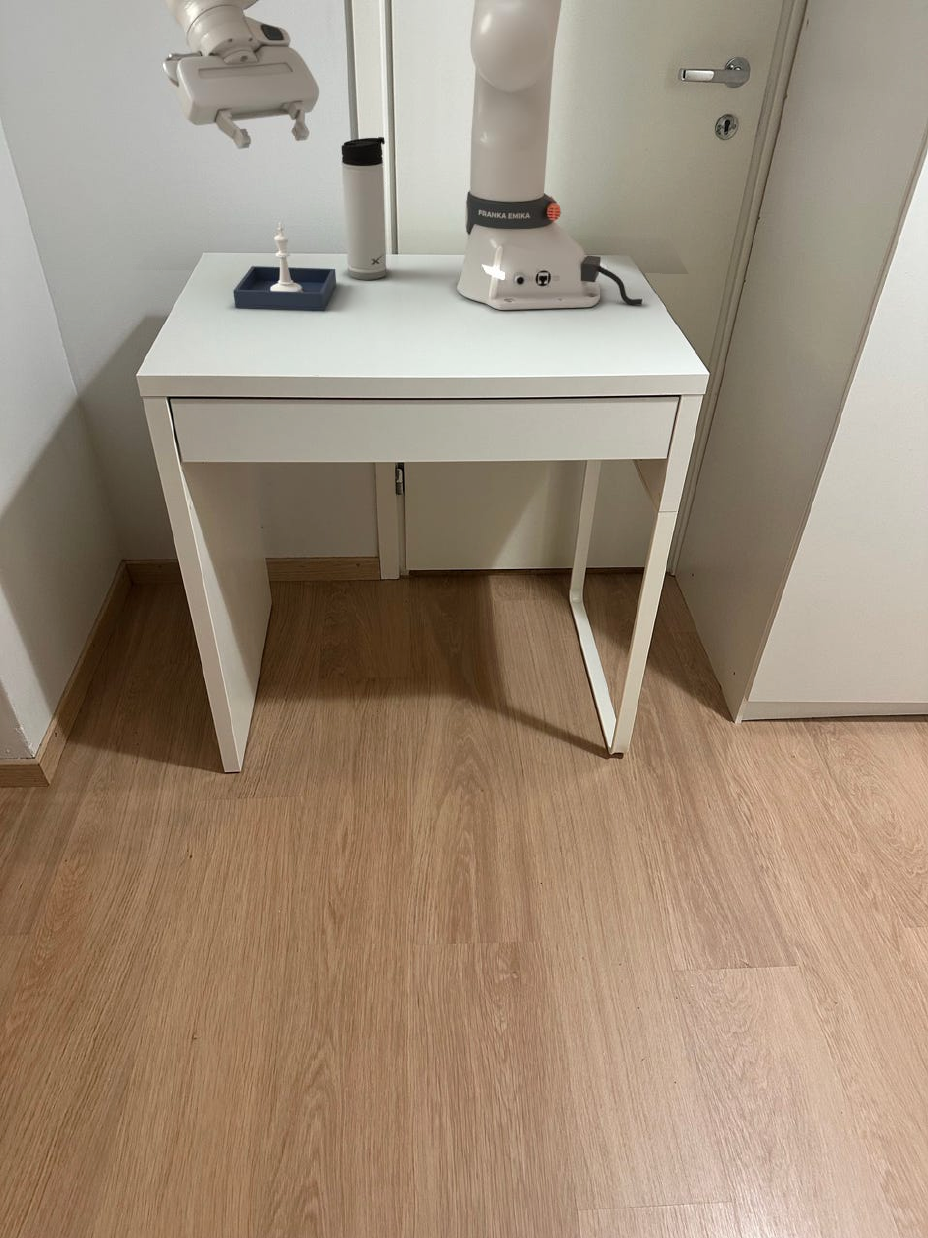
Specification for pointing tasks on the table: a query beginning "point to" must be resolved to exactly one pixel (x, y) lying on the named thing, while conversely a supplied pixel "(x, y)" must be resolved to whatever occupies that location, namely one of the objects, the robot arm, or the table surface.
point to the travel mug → (364, 207)
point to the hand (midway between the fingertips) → (275, 141)
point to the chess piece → (284, 265)
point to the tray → (259, 295)
